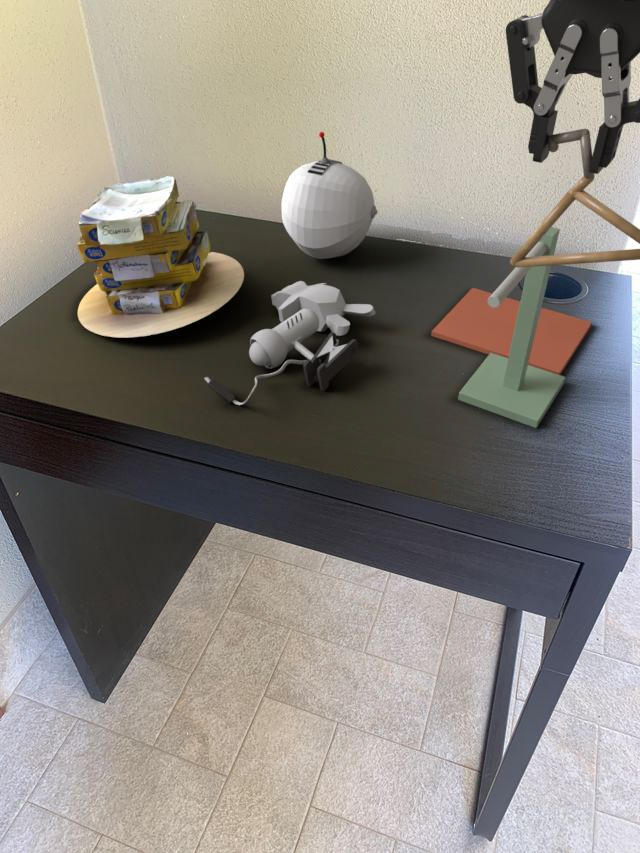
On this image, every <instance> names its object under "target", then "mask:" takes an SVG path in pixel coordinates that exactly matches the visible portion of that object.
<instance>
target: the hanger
mask: <svg viewBox="0 0 640 853" xmlns="http://www.w3.org/2000/svg"><path fill="white" fill-rule="evenodd" d="M577 141H579V145H580V146H579V147H580V153H581V154H580V155H581V163H582V170H583V171H582V172H583V176H582V177H581V178H580V179H579V180H578V181H577V182H576V183H575V184H574V185H573V186H572V187H571V188H570V189H569V190H568V191H567V192H566V193H565V195H564V196H562V198H561V199H560V200H559V202H558V203H556V205H555V206H554V207H553V209H552V210H551V211H550V212H549V213H548V214H547V216H545V218H544V219H543V221H541V223H540V224H539V225H538V226H537V228H535V229H534V231H533V232H532V233H531V235H530V236H529V237H528V238H527V239H526V241H525V242H524V243H523V244H522V245H521V246H520V248H519V249H518V250H516V252H515V253H514V255H513V256H512V257H511V258H510V261H509V262H510V265H511V266H513V267H514V268H516V267H517V268H520V267H536V266H551V267H552V266H565V265H580V264H581V265H582V264H593V263H594V264H595V263H607V262H608V263H609V262H610V263H611V262H624V261H627V262H628V261H640V248H629V249H619V250H608V251H607V250H606V251H591V252H577V253H564V254H554V255H550V256H537V257H526V256H527V254H528V253H529V252H530V251H531V250H532V249H533V248H534V246H535V245H536V244H537V243H538V242H539V241H540V239H541V238H542V237H543V236H544V235H545V234H546V233H547V231H548V230H549V229H550V228H551V227H553V226H554V224H556V222H557V221H558V220H559V219H560V218H561V216H563V214H564V213H565V212H566V211H567V210H568V209H569V207H570V206H571V205H572V204H573V203H574V202H575V200H576V201H577V202H579V203H580V204H582V205H583V206H585V207H586V208H587V209H589V210H590V211H591V212H593V213H595V215H597V216H599V217H601V218H602V219H603V220H604V221H606V222H608V223H609V224H610V225H612V226H613V227H615V228H616V229H618V230H619V231H621V232H622V233H623V234H625V235H626V236H628V237H629V238H630V239H631V240H633V241H635V242H636V243H637V244H639V245H640V228H639V227H637V226H635V225H634V224H633V223H632V222H630V221H629V220H627V219H625V217H623V216H621V215H620V214H619V213H617V212H616V211H615V210H613V209H611V208H610V207H608V206H607V205H606V204H604V203H603V202H601V201H600V200H599V199H597V198H595V197H594V196H593V195H591V194H590V193H589V192H587V191H585V190H586V188H587V187H588V186H590V184H592V182H593V181H594V180H595V174H594V173H589V168H590V164H591V160H592V156H593V149H592V140H591V132H590V129H588V128H581V129H576V130H570V131H565V132H564V131H563V132H560V133H553V135H550V136H549V138H548V148H549V153H556V152H557V151H558V150H559V148H560V147H559V146H560V145H561V144H567V143H572V142H577Z"/></svg>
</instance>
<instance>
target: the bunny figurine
mask: <svg viewBox="0 0 640 853" xmlns="http://www.w3.org/2000/svg"><path fill="white" fill-rule="evenodd" d="M270 297H271V303H272V306H274V307H275V308H276V309H277V311H278V312H277V313H278V318H279V322H280V323H282V322H284V321H285V320H287V319H288V318H290V317H291V316H293V315H294V314H296V313H297V312H299V311H300V310H302V309H310V310H312V311H314V312H315V313H316V314H317V316H318V318H319V328H318V330H317V331H316V332H320V333H323V332H325V331H326V330H327V329H329V330H330V331H331V332H334V333H335V334H336V337H337V336H338V337H339V336H345V335H346V334H348V332H349V331H350V326H351V323H350V321H349V320H347V319H346V318H344V316H345V314H347V315H356V316H361V317H373V316H375V315H376V311H375V308H374V306H373V305H372V304H369V303H346V301H345V299H344V297H343V294H342V292H341V290H340V289H339V288H336V286H331V285H327V282H321V283H316V284H312V285H311V284H310V285H308V284H306V282H305V281H302V280H299V281H296V282H294V283H293V284H291V285H287V286H286V287H284V288H282V289H281V290H278V291H276V292H275V293H273V294H271V295H270Z"/></svg>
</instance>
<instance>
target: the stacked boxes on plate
mask: <svg viewBox="0 0 640 853" xmlns="http://www.w3.org/2000/svg"><path fill="white" fill-rule="evenodd" d="M178 188H179V187H178V185H177V178H175V176H171V175H170V176H169V175H167V176H165V177H161V178H153V177H150V178H149V179H142V180H141V179H140V180H134V181H127V179H126V178H125V179H124V182H122V183H121V181H119V182H118V183H116V184H113V185H107V186H103V188H102V190H100V191H99V193H98V194H97V195H96V198H95V199H93V201H92V202H91V203H90V205H89V206H88V208H85V209H84V210H82V211H81V212H80V213H81V214H80V215H79V222H78V227H79V230H80V236H79V238H78V241H77V243H76V247H77V249H78V252H79V254H80V257H81V259H82V261H83V263H95V264H96V265H97V270H96V271H95V272H94V273H93V277H94V279H95V282H96V284H95V285H94V286H93V287H92V288H90V289H89V290H88V291H87V293H86V294H85V295H84V296H83V297H82V299H81V301H80V302H79V305H78V309H77V318H78V321H79V323H80V324H81V325H82V326H83V327H84V328H85V329H87V331H89V332H92V333H94V334H97V335H100V336H104V337H111V338H121V339H122V338H127V339H128V338H139V337H147V336H151V335H153V336H154V335H158V334H161V333H162V334H163V333H167V332H170V331H173V330H176V329H179V328H183V327H185V326H187V325H190V324H192V323H195V322H197V321H199V320H201V319H204V318H205V317H208V316H210V315H211V314H212V313H214V312H216V311H218V310H219V309H220V308H221V307H223V306H224V305H225V304H227V303H228V302H230V300H232V298H233V297H234V296H235V295H236V294H237V293H238V292H239V290H240V288H241V287H242V284H243V282H244V279H245V272H244V267H243V266H242V265H241V263H240V262H239V261H237V259H235V258H233V257H231V256H230V255H227V254H223V253H220V252H215V251H212V250H211V243H210V239H209V234H208V228H205V229H204V230H203V231H202V230H201V231H198V230H199V228H200V225H199V221H198V217H197V212H196V207H197V203H195V202H194V201H193V200H192V199H190V200H188V199H186V200H182V201H178V198H179V197H180V194H179V189H178Z"/></svg>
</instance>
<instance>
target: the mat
mask: <svg viewBox="0 0 640 853" xmlns="http://www.w3.org/2000/svg"><path fill="white" fill-rule="evenodd" d="M493 293H494V292H489V291H485V290H482V289H478V288H475V287H472V288H471V289H470V290H469V291H467V293H466V294H465V295H464V296H463V297H462V298H461V299H460V300H459V301H458V303H456V305H455V306H454V307H453V308H452V309H451V310H450V311H449V312H448V313H447V314H446V315H445V316H444V318H443V319H442V320H440V322H439V323H438V324H437V325H436V326H435V327H434V328H433V329H432V330H431V337H433V338H437V339H440V340H443V341H446V342H449V343H451V344H455V345H457V346H461V347H464V348H467V349H470V350H473V351H476V352H479V353H481V354H482V353H483V354H485V355H487V356H488V355H489V354H490V353H493V354H496V355H499V356H503V357H506V358H509V353H510V348H511V343H512V339H513V334H514V329H515V324H516V320H517V315H518V310H519V306H520V301H521V300H517V299H513V298H510V297H508V296H507V297H506V298H505V299H504V301H503V302H502V303H501V304H500V305H499V306H498V307H497V308H492V307H490V306H489V304H488V298H489V297H490V296H491V295H492V294H493ZM592 324H593V321H590V320H586V319H582V318H579V317H576V316H572V315H568V314H566V313H561V312H558V311H555V310H552V309H548V308H545V307H541V312H540V316H539V320H538V324H537V328H536V333H535V337H534V341H533V345H532V350H531V354H530V358H529V362H528V365H530V366H533V367H536V368H539V369H542V370H545V371H548V372H551V373H554V374H557V375H561V376H562V373H563V371H564V370H565V368H566V366H567V365H568V364H569V362H570V361H571V359H572V357H573V356H574V355H575V353H576V351H577V350H578V348H579V346H580V345H581V343H582V341H583V340H584V338H585V337H586V336H587V334H588V333H589V331H590V329H591V328H592Z"/></svg>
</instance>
